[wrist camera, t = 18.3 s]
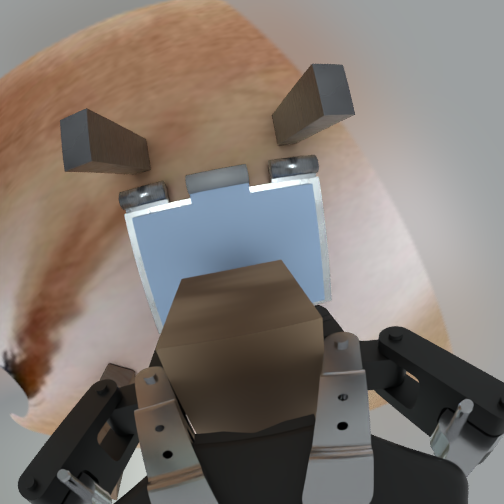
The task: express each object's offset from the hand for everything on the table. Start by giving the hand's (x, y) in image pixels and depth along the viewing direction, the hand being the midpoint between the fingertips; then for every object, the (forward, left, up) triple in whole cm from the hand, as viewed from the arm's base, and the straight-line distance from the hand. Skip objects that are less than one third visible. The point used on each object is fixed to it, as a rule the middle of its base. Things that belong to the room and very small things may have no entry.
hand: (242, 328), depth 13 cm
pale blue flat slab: (0, +1, -12) cm, 12 cm away
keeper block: (0, 0, -1) cm, 1 cm away
